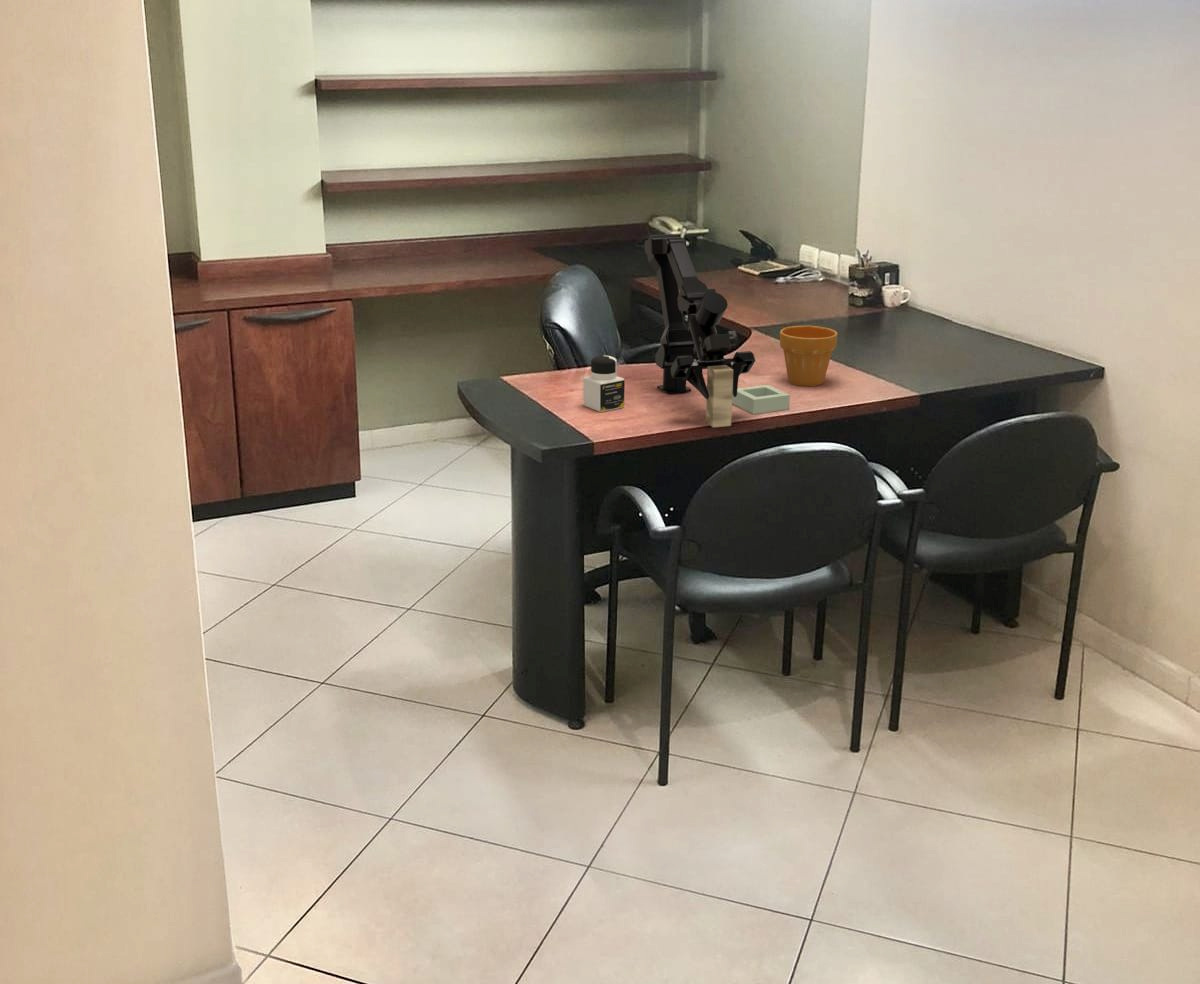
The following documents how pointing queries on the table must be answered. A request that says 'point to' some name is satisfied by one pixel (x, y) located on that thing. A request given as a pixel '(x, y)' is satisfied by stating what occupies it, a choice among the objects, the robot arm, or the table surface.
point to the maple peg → (719, 396)
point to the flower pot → (807, 353)
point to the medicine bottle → (603, 385)
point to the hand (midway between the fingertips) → (721, 397)
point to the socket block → (761, 399)
